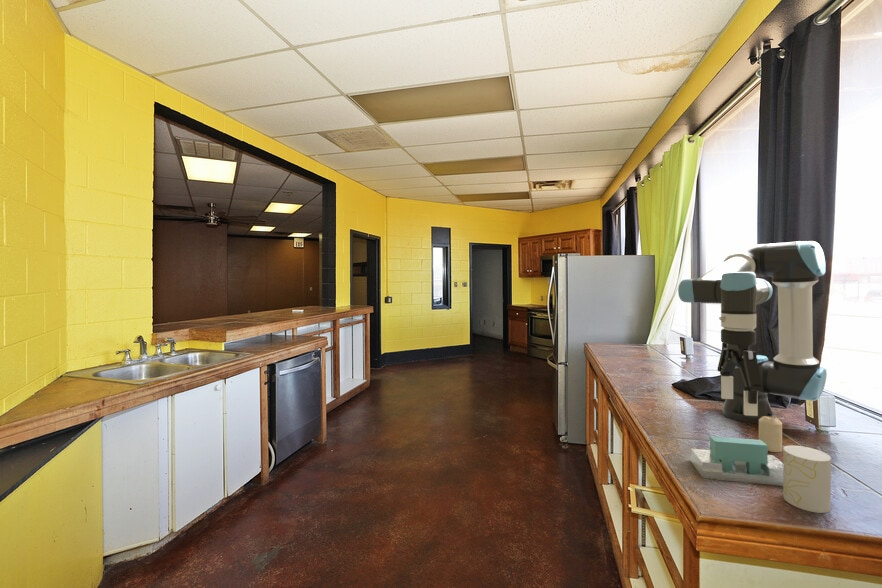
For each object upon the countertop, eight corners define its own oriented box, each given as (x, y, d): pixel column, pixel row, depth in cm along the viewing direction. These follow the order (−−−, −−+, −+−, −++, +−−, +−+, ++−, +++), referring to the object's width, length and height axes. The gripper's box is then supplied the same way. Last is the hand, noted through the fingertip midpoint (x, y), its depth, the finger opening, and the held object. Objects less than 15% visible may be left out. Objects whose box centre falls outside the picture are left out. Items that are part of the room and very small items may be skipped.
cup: (774, 494, 95) (774, 446, 94) (804, 491, 95) (804, 444, 95) (808, 514, 86) (808, 462, 86) (840, 511, 87) (841, 459, 87)
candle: (776, 445, 120) (776, 414, 120) (785, 453, 115) (786, 420, 115) (755, 443, 122) (755, 413, 122) (763, 451, 117) (763, 419, 116)
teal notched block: (760, 468, 105) (760, 440, 104) (767, 475, 101) (767, 445, 101) (710, 463, 108) (710, 436, 108) (715, 469, 105) (715, 441, 105)
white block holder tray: (771, 468, 107) (771, 454, 107) (793, 487, 97) (793, 471, 97) (690, 460, 112) (690, 447, 112) (703, 477, 103) (702, 463, 103)
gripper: (704, 323, 116) (704, 392, 117) (743, 335, 92) (743, 422, 93) (733, 323, 114) (733, 393, 115) (781, 336, 90) (781, 424, 91)
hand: (738, 406), depth 104 cm, fingers open, 13 cm apart
